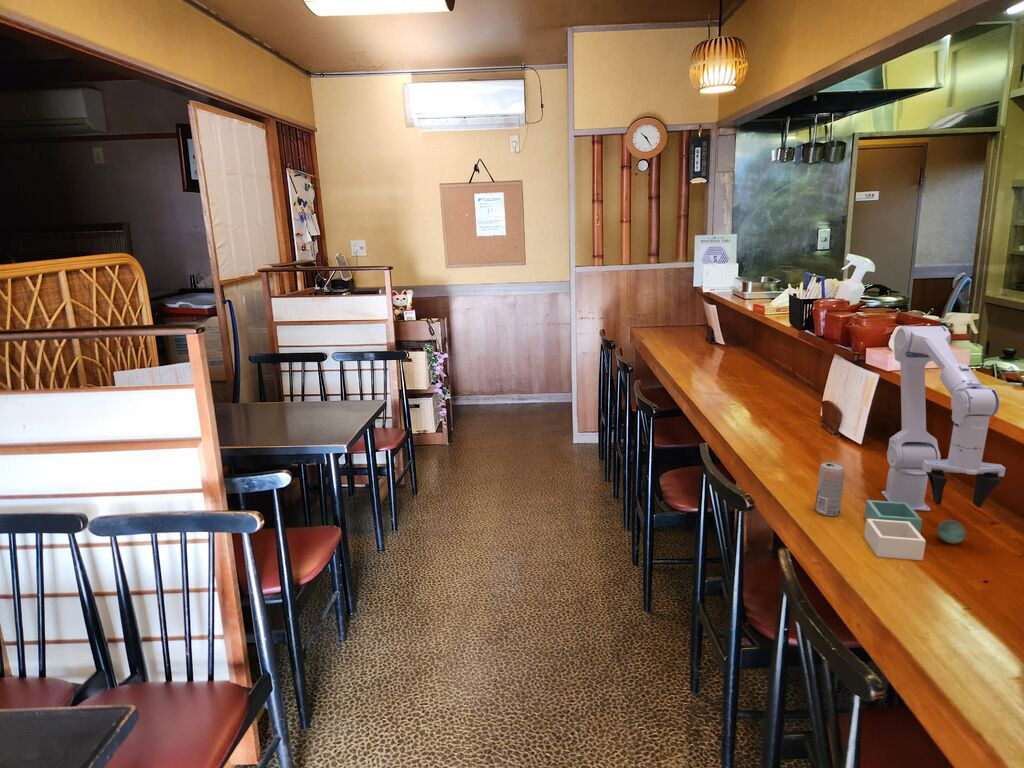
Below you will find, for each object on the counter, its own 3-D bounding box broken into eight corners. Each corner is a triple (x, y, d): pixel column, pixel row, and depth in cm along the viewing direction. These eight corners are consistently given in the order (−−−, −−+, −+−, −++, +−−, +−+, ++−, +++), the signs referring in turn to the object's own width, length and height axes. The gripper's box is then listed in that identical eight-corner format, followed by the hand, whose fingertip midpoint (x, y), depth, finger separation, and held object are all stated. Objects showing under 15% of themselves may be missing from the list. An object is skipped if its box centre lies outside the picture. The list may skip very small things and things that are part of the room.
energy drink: (832, 506, 154) (837, 461, 151) (844, 516, 149) (850, 469, 146) (810, 507, 154) (815, 462, 151) (822, 517, 149) (827, 470, 146)
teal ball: (932, 535, 139) (935, 515, 138) (957, 537, 138) (960, 516, 137) (941, 546, 134) (945, 525, 133) (968, 548, 133) (971, 527, 132)
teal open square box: (864, 517, 148) (866, 500, 147) (904, 520, 146) (907, 502, 145) (876, 534, 140) (879, 516, 139) (919, 538, 138) (922, 519, 137)
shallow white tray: (864, 536, 139) (866, 518, 138) (906, 540, 137) (909, 521, 136) (877, 556, 131) (879, 537, 130) (922, 560, 129) (925, 540, 128)
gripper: (936, 449, 128) (926, 509, 131) (1017, 453, 125) (1005, 515, 128) (922, 437, 134) (913, 495, 138) (999, 441, 131) (988, 500, 135)
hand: (956, 504), depth 133 cm, fingers open, 7 cm apart
